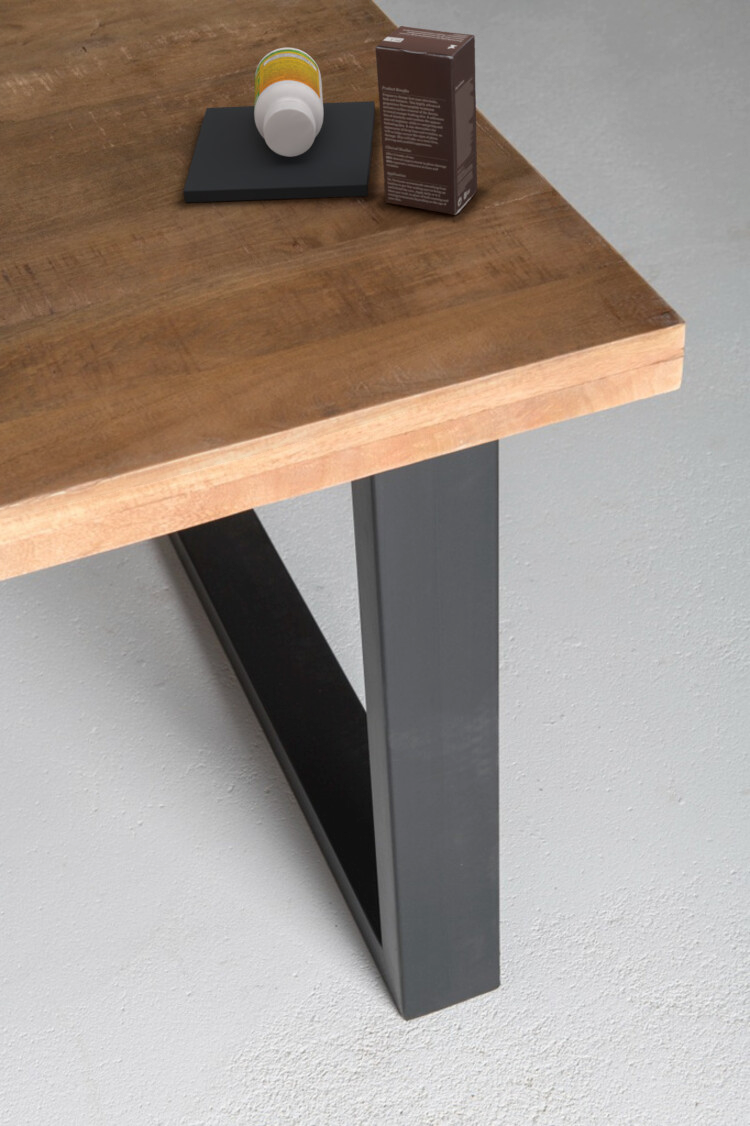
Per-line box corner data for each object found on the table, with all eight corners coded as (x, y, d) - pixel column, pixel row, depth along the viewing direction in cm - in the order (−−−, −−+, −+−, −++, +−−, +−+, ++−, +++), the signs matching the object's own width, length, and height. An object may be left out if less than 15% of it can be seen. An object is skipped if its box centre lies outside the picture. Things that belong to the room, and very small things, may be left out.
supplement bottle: (246, 54, 113) (245, 108, 106) (311, 38, 112) (314, 91, 105) (264, 116, 116) (264, 172, 109) (328, 101, 116) (332, 156, 109)
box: (479, 189, 106) (477, 32, 98) (455, 218, 104) (451, 59, 95) (407, 176, 109) (399, 21, 100) (381, 204, 106) (371, 47, 98)
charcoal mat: (185, 202, 108) (182, 191, 107) (208, 118, 118) (206, 107, 117) (367, 196, 107) (367, 184, 106) (375, 112, 117) (374, 100, 116)
